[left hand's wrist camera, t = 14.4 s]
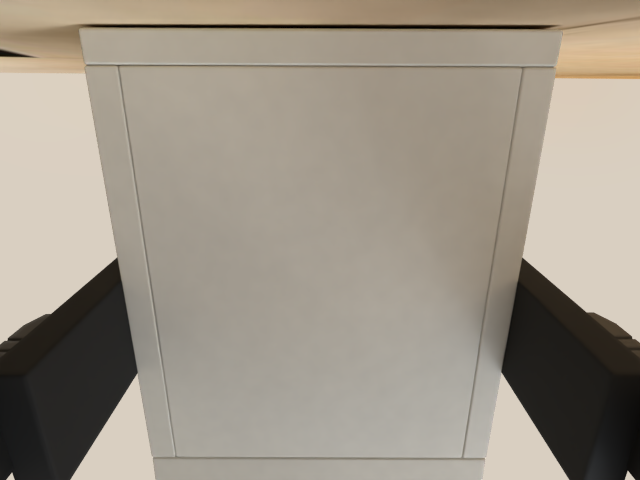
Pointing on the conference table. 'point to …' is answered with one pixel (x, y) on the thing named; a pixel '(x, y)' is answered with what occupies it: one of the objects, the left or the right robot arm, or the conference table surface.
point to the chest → (319, 229)
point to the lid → (318, 468)
